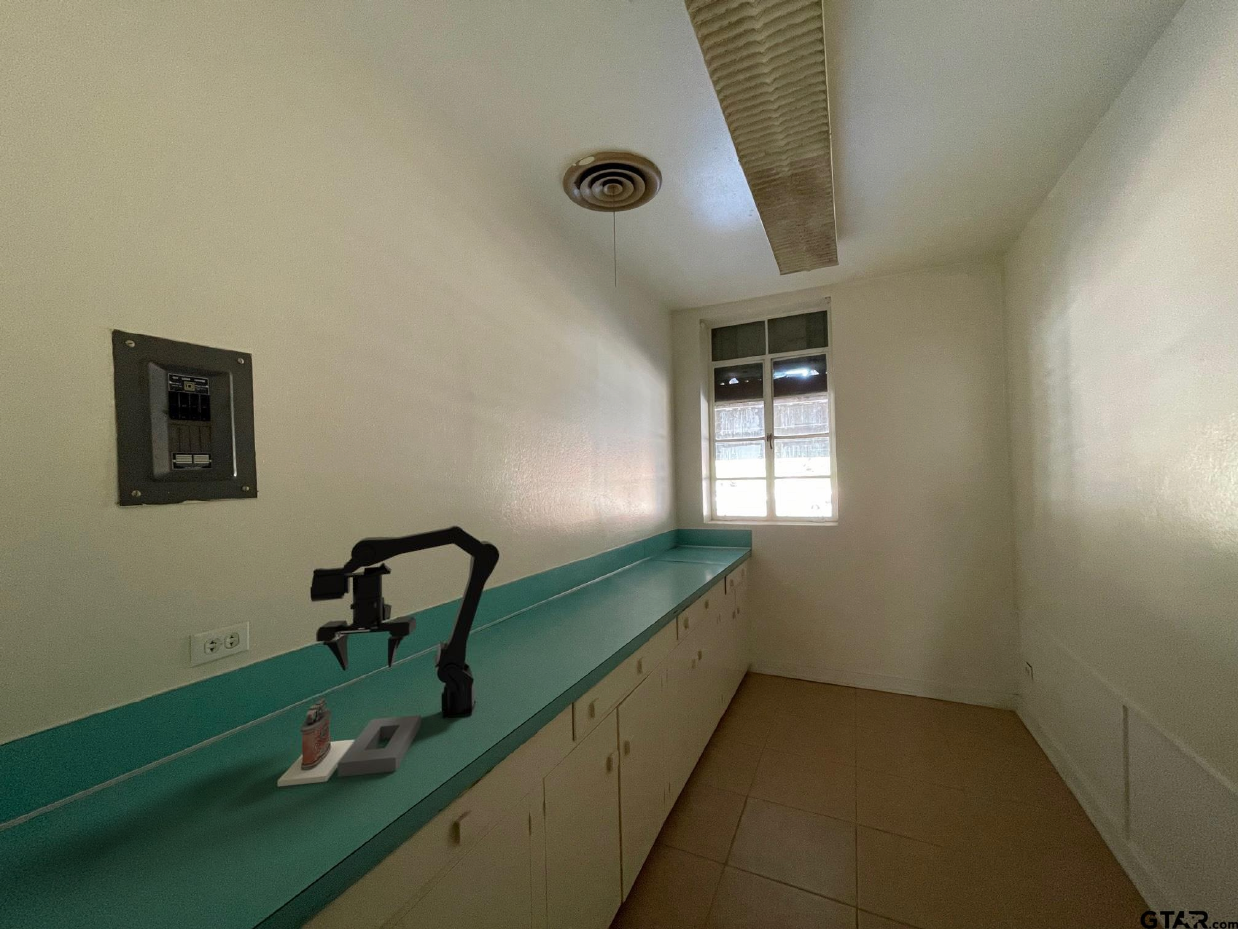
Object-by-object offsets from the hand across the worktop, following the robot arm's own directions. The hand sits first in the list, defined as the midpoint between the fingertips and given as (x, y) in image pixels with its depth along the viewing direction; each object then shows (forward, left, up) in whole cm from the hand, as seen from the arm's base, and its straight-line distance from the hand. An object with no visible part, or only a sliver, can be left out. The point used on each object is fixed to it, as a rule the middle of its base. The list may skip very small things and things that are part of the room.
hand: (368, 668), depth 103 cm
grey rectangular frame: (-6, +9, -13) cm, 17 cm away
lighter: (+5, +12, -12) cm, 18 cm away
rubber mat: (+4, +12, -13) cm, 18 cm away
